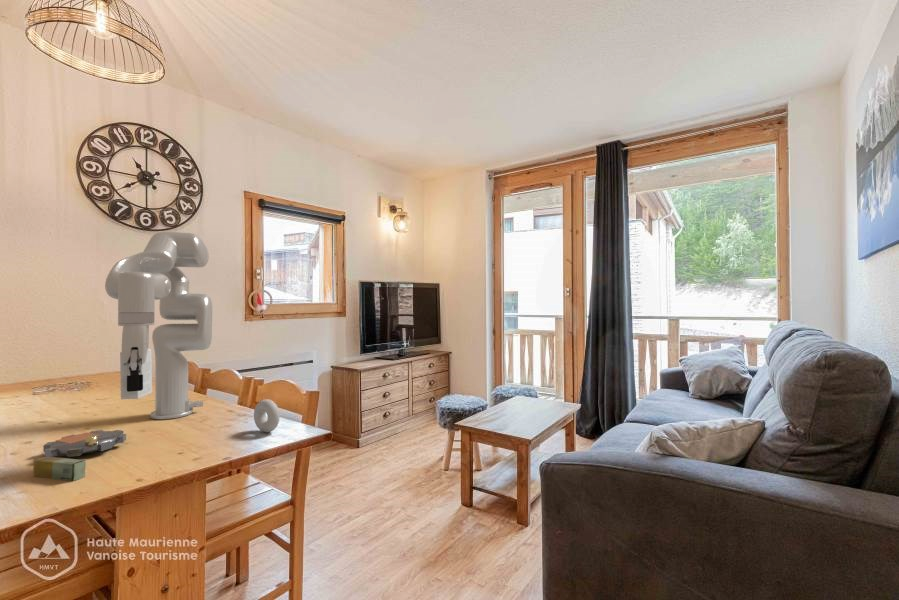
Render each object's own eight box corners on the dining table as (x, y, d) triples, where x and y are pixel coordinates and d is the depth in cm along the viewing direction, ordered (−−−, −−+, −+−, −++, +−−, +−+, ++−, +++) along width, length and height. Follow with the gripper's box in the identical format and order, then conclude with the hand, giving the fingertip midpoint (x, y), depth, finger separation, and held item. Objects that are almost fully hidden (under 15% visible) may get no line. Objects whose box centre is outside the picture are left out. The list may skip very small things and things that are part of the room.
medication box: (86, 477, 94) (87, 459, 94) (73, 482, 91) (74, 463, 91) (45, 472, 96) (46, 455, 96) (31, 477, 94) (32, 459, 94)
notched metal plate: (101, 432, 120) (101, 420, 120) (139, 439, 114) (140, 426, 114) (28, 452, 105) (28, 437, 105) (68, 461, 99) (68, 446, 99)
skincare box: (135, 393, 110) (135, 348, 110) (152, 393, 110) (152, 348, 110) (119, 399, 104) (119, 352, 104) (137, 399, 104) (137, 351, 104)
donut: (282, 433, 125) (282, 400, 125) (272, 436, 122) (272, 402, 122) (261, 427, 130) (261, 396, 130) (251, 430, 127) (251, 398, 127)
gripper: (122, 318, 112) (122, 383, 112) (113, 321, 97) (113, 396, 98) (156, 317, 116) (156, 380, 116) (152, 321, 101) (152, 393, 102)
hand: (136, 387), depth 107 cm, fingers closed on skincare box, 7 cm apart
